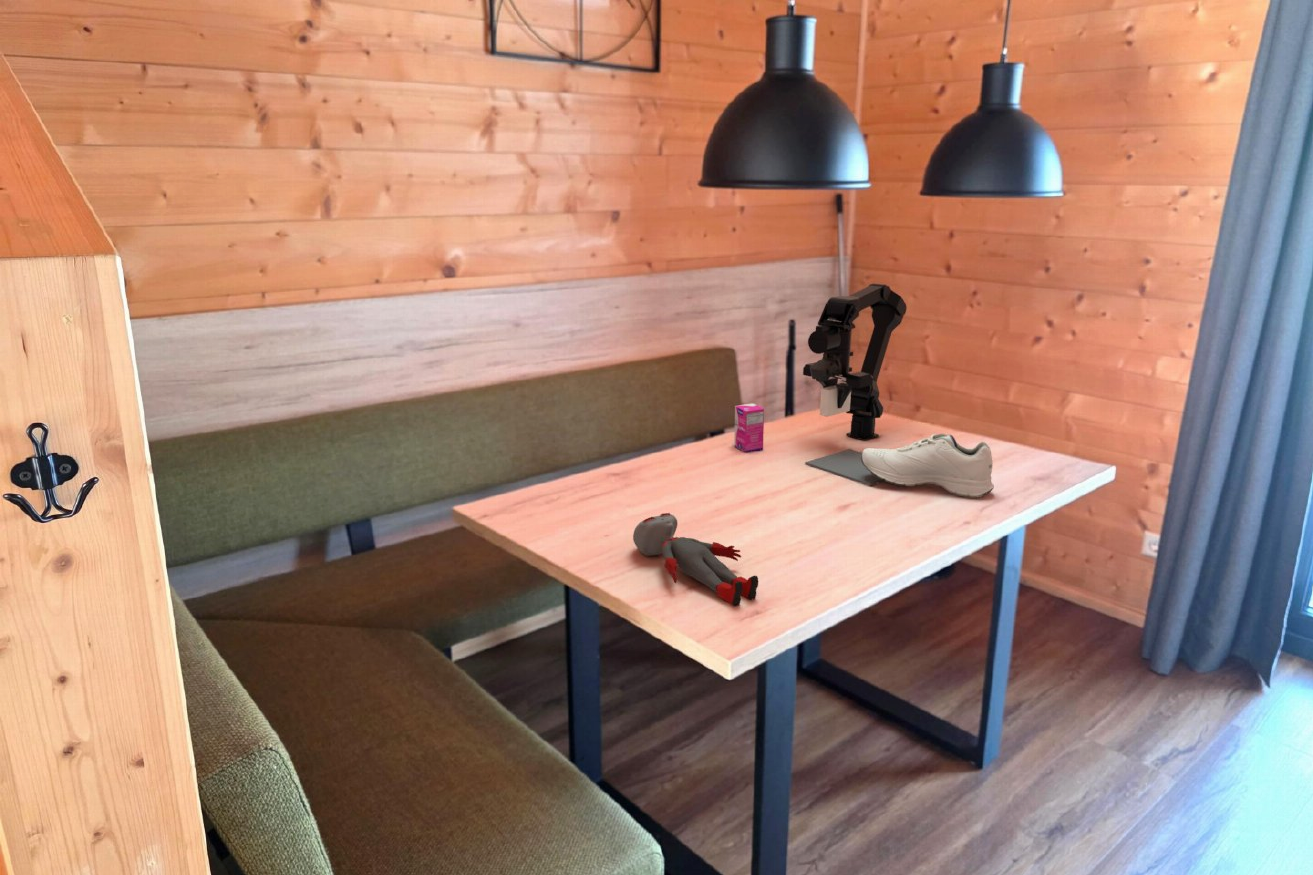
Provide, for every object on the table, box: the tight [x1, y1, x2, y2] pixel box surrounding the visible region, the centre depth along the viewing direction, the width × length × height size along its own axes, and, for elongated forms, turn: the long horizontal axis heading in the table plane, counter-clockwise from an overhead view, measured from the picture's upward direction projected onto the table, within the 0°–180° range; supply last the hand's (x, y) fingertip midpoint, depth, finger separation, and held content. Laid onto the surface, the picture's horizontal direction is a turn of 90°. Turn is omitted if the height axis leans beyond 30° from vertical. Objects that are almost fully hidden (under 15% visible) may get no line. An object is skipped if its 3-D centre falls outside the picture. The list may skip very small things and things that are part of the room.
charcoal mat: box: [804, 448, 885, 487], centre depth 226 cm, size 17×20×1 cm
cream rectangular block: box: [819, 385, 851, 418], centre depth 236 cm, size 9×3×7 cm, turn 129°
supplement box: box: [733, 402, 765, 454], centre depth 239 cm, size 6×6×12 cm
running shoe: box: [861, 433, 995, 499], centre depth 212 cm, size 11×30×13 cm, turn 72°
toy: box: [632, 512, 759, 607], centre depth 169 cm, size 16×10×30 cm
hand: (835, 407), depth 237 cm, fingers closed on cream rectangular block, 2 cm apart
